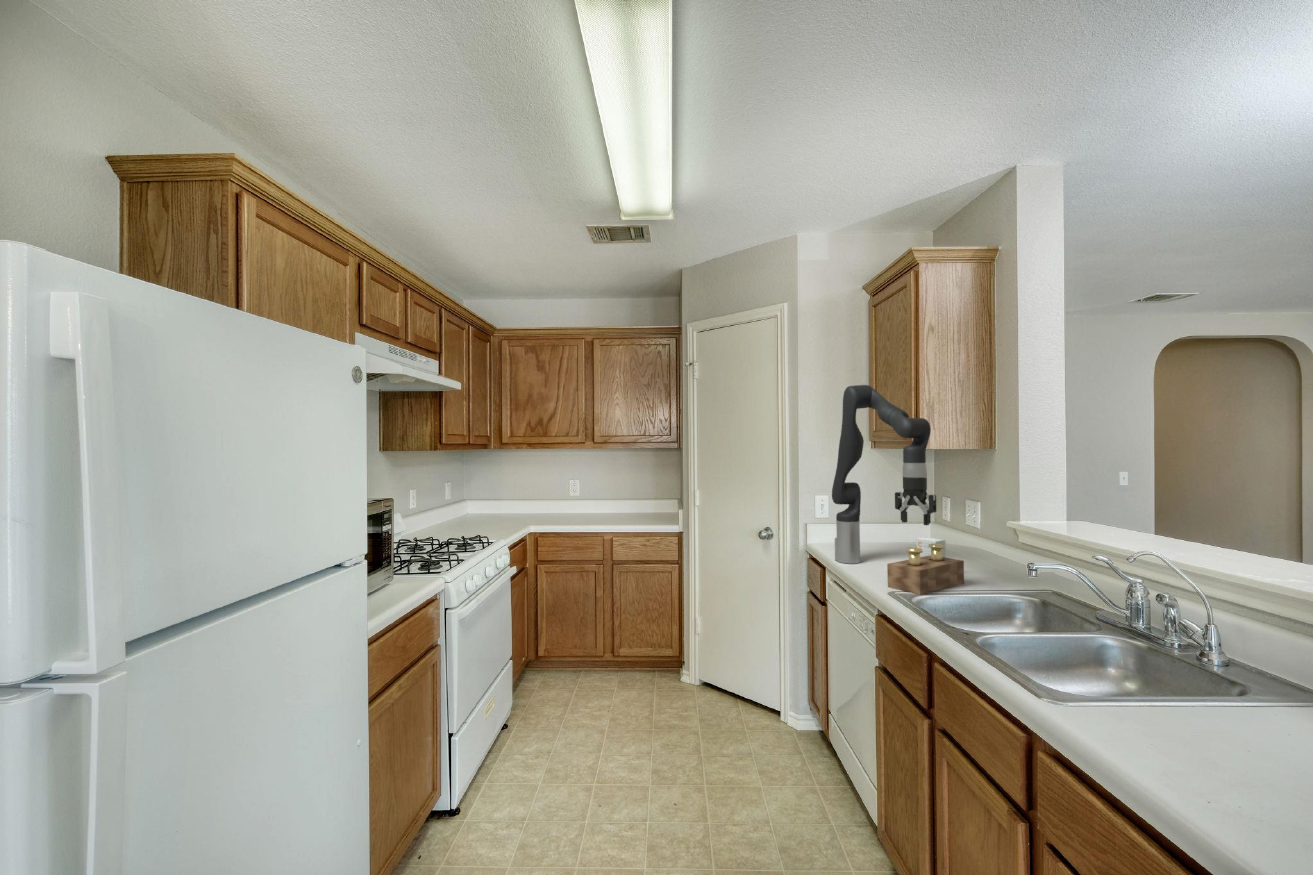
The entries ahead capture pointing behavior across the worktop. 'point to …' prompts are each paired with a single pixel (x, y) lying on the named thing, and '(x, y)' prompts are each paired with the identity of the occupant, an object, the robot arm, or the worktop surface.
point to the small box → (924, 545)
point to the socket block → (925, 575)
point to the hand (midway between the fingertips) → (915, 523)
